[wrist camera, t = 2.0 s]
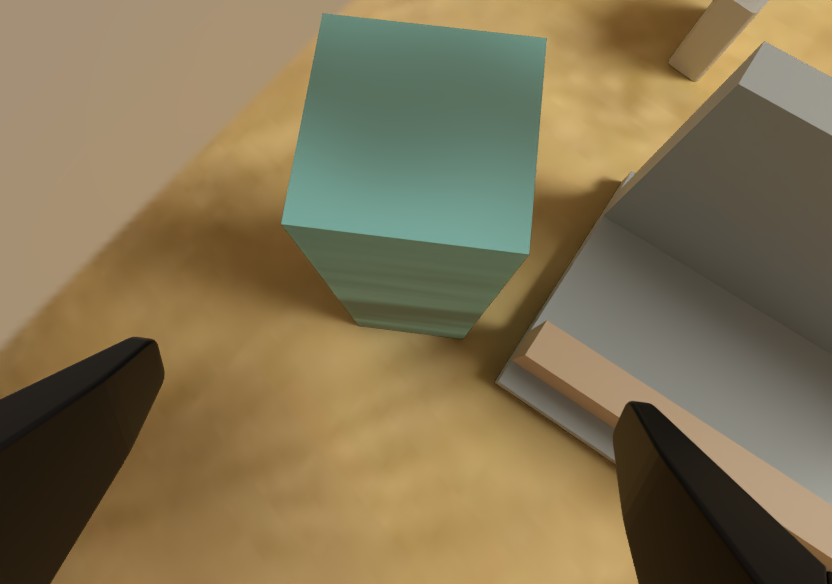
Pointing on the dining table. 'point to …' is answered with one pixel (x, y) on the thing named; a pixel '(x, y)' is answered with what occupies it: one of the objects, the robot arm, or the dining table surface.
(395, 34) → the teal block
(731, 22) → the lighter
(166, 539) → the dining table surface
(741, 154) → the grey bookend
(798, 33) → the dining table surface
